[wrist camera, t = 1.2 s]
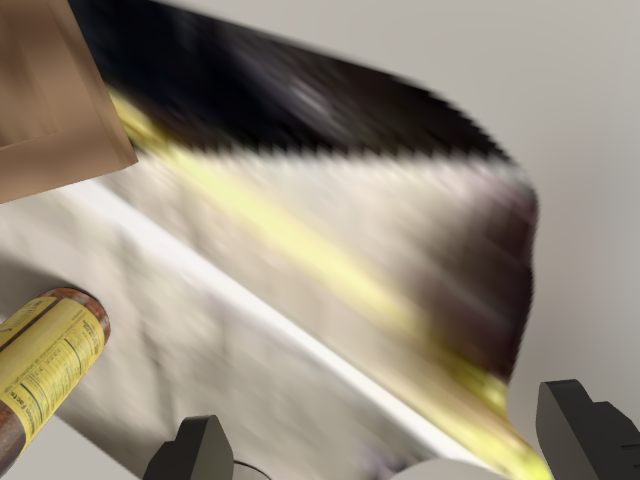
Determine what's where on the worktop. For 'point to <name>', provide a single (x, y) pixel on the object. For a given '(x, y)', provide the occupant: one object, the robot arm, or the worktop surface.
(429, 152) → the worktop surface
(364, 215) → the worktop surface
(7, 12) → the stand
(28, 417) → the sauce bottle
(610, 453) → the robot arm
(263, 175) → the worktop surface
